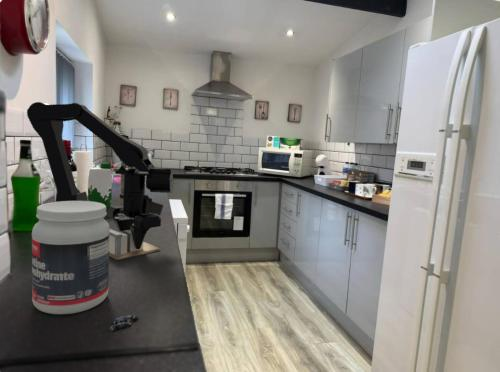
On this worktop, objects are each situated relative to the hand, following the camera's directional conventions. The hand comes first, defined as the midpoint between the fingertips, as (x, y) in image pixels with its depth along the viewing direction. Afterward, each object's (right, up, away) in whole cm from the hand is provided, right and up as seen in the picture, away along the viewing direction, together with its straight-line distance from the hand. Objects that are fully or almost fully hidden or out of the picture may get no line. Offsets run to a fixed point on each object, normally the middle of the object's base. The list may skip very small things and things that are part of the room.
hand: (132, 246), depth 96 cm
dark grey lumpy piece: (+12, -7, -38) cm, 40 cm away
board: (0, -1, 0) cm, 1 cm away
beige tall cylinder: (-23, +7, +62) cm, 67 cm away
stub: (0, -1, 0) cm, 1 cm away
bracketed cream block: (-3, -1, -3) cm, 5 cm away
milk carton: (-30, +6, +48) cm, 57 cm away
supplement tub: (-1, -5, -31) cm, 31 cm away
